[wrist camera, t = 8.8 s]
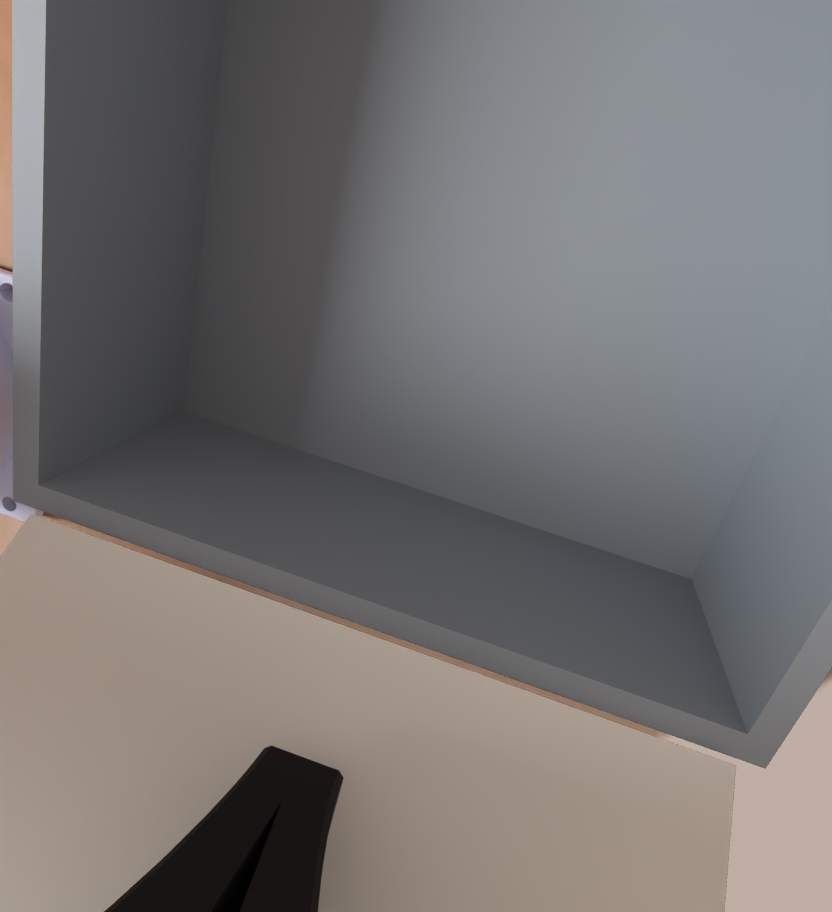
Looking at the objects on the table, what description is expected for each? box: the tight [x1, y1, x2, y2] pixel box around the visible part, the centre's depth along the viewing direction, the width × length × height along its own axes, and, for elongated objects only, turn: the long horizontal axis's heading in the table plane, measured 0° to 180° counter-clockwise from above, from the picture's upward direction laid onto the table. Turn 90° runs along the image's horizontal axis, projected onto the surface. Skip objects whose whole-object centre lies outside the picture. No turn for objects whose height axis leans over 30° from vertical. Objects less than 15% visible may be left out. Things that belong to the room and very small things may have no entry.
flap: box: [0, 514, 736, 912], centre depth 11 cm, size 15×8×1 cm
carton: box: [12, 0, 832, 768], centre depth 12 cm, size 16×16×6 cm
